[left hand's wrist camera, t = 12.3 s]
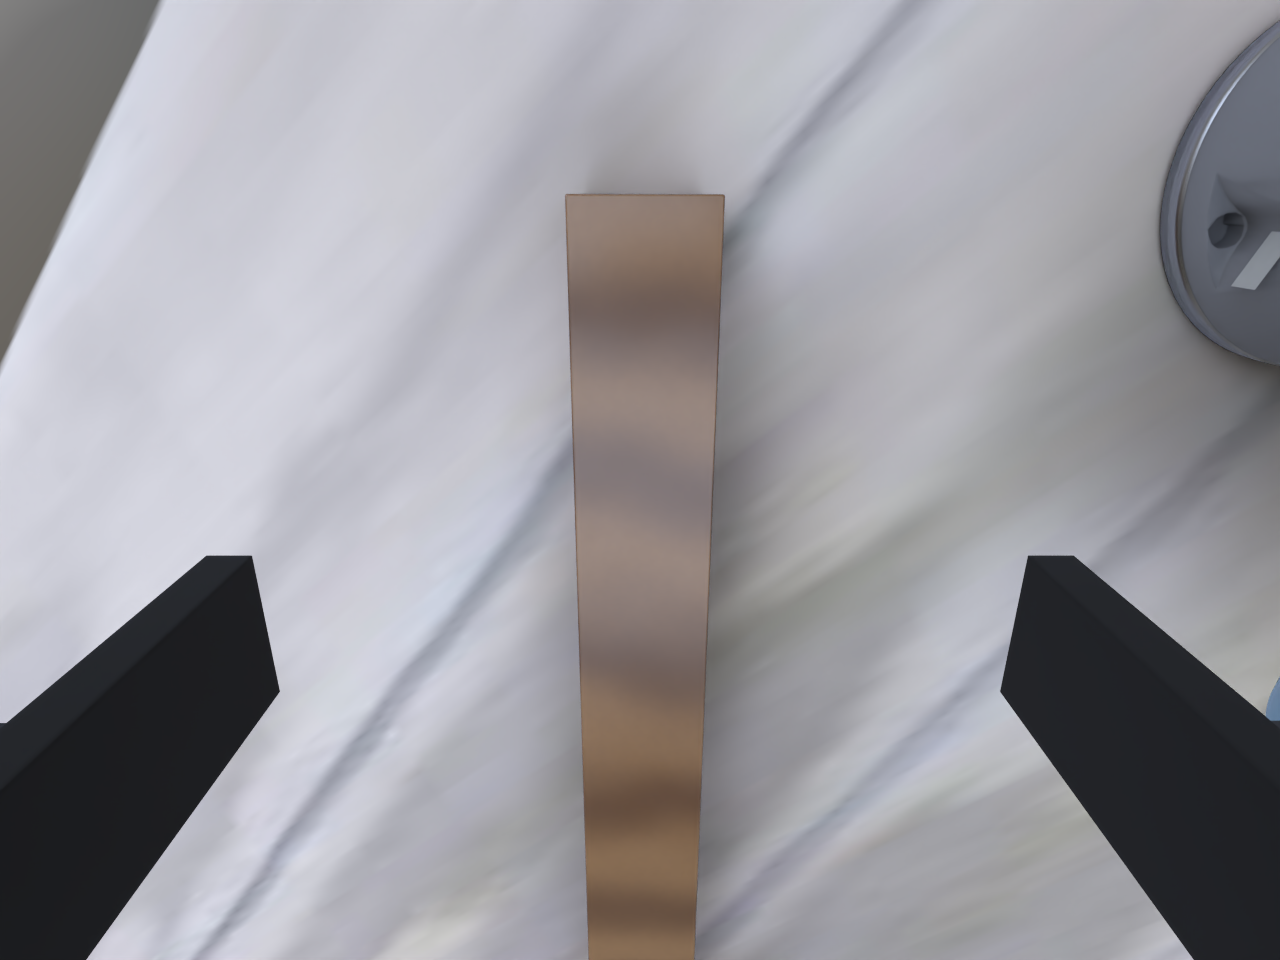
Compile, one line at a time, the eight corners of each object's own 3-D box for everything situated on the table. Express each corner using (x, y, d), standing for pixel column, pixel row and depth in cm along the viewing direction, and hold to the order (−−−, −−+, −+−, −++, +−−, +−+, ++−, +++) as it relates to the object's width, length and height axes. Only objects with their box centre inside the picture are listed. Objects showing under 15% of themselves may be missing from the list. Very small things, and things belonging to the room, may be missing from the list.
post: (583, 194, 32) (564, 193, 24) (703, 194, 32) (725, 194, 24) (604, 1098, 54) (598, 1259, 46) (675, 1098, 54) (682, 1259, 46)
